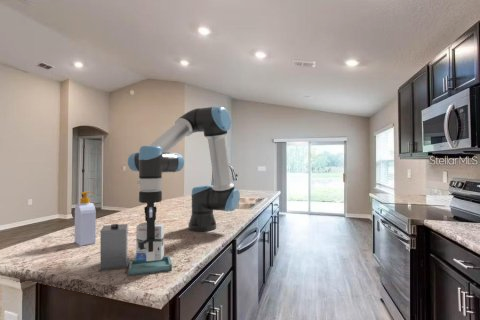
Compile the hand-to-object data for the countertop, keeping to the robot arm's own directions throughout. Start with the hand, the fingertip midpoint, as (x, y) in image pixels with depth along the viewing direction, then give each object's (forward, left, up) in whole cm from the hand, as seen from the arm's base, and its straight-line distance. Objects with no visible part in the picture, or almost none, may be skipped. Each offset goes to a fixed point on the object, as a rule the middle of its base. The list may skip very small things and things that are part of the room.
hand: (150, 257), depth 95 cm
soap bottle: (+27, -40, -4) cm, 48 cm away
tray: (0, 0, -4) cm, 4 cm away
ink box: (0, 0, -1) cm, 1 cm away
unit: (+12, -7, -4) cm, 14 cm away
